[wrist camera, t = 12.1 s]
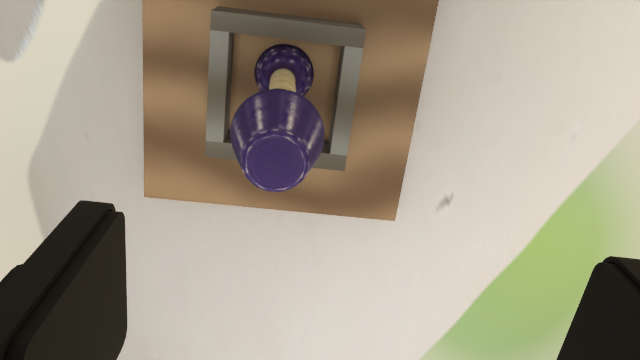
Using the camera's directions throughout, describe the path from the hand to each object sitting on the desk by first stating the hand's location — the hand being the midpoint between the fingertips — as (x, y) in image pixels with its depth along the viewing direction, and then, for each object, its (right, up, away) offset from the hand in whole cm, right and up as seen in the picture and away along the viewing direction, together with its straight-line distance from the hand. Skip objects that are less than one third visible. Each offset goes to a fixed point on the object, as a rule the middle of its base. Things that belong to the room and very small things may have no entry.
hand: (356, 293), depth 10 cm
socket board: (-3, +10, +29) cm, 31 cm away
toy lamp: (-3, +10, +28) cm, 29 cm away
